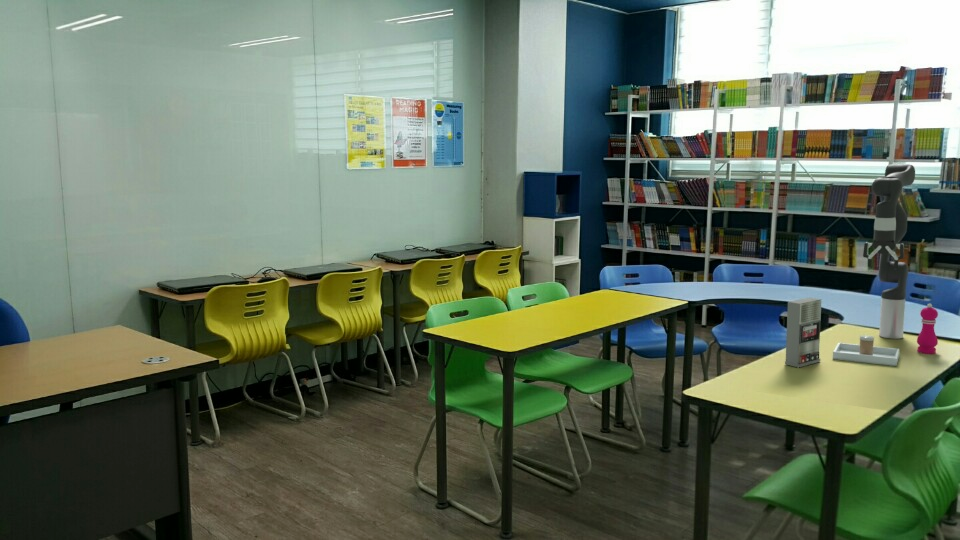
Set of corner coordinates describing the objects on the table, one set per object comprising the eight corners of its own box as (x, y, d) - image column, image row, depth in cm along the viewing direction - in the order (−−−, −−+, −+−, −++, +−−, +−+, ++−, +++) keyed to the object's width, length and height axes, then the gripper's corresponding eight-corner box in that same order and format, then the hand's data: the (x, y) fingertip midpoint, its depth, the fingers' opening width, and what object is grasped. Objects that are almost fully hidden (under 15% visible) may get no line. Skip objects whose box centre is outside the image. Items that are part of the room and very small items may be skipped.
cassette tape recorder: (799, 368, 275) (801, 304, 271) (784, 364, 280) (787, 301, 276) (820, 362, 282) (823, 299, 279) (806, 358, 287) (809, 297, 284)
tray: (838, 349, 299) (838, 342, 299) (899, 356, 288) (899, 348, 287) (832, 358, 286) (833, 351, 286) (896, 366, 274) (896, 358, 274)
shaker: (859, 354, 290) (860, 334, 289) (873, 355, 288) (874, 336, 286) (858, 357, 286) (859, 337, 285) (872, 358, 283) (873, 338, 282)
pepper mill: (940, 354, 288) (943, 305, 285) (920, 354, 290) (923, 305, 287) (932, 349, 295) (936, 302, 292) (913, 349, 297) (916, 301, 294)
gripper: (906, 227, 287) (903, 268, 290) (865, 227, 295) (863, 266, 298) (904, 230, 281) (902, 271, 284) (863, 229, 289) (861, 269, 291)
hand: (882, 268), depth 291 cm, fingers open, 8 cm apart
